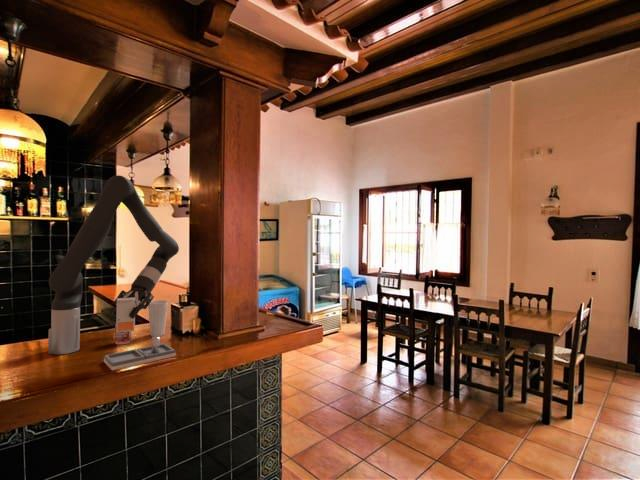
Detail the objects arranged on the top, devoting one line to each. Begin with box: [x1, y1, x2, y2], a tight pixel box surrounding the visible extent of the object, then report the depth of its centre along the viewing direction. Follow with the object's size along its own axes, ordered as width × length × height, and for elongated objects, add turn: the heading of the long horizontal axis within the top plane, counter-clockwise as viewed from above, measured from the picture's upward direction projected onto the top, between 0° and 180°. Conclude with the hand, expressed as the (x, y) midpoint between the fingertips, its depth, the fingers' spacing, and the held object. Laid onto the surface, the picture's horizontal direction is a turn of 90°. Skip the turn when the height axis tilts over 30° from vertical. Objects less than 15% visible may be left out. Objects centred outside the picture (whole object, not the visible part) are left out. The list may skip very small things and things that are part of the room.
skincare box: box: [115, 297, 136, 333], centre depth 127 cm, size 6×4×12 cm
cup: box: [147, 299, 169, 337], centre depth 162 cm, size 8×8×16 cm
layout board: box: [103, 336, 176, 371], centre depth 131 cm, size 22×11×7 cm, turn 135°
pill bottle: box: [114, 324, 132, 346], centre depth 150 cm, size 6×6×11 cm
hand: (122, 316), depth 126 cm, fingers closed on skincare box, 7 cm apart
